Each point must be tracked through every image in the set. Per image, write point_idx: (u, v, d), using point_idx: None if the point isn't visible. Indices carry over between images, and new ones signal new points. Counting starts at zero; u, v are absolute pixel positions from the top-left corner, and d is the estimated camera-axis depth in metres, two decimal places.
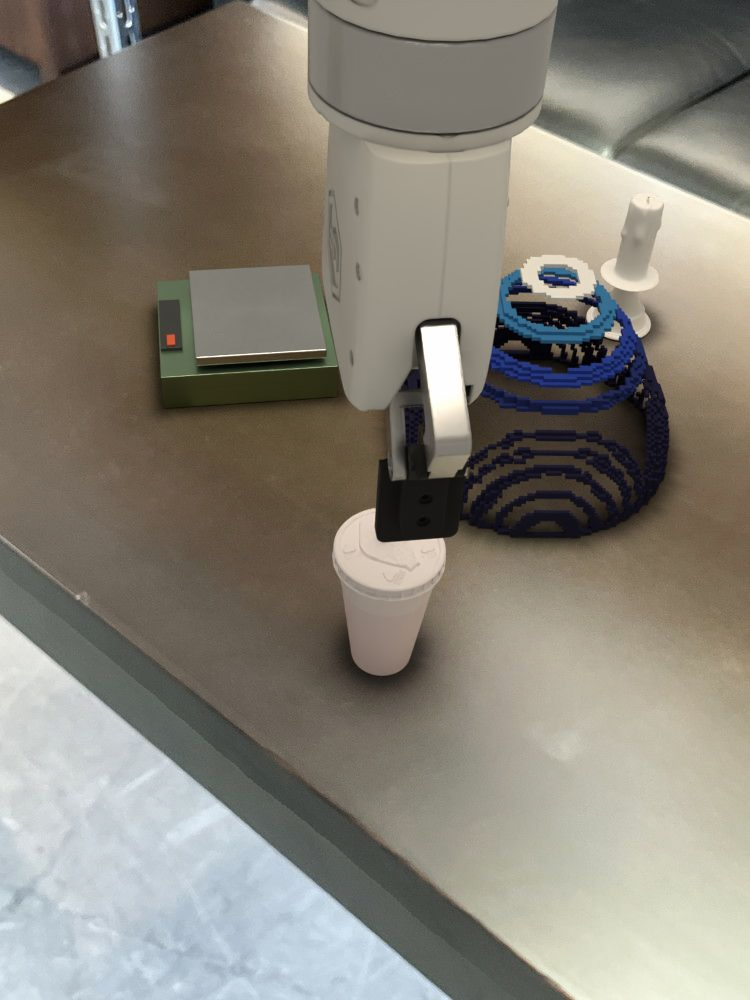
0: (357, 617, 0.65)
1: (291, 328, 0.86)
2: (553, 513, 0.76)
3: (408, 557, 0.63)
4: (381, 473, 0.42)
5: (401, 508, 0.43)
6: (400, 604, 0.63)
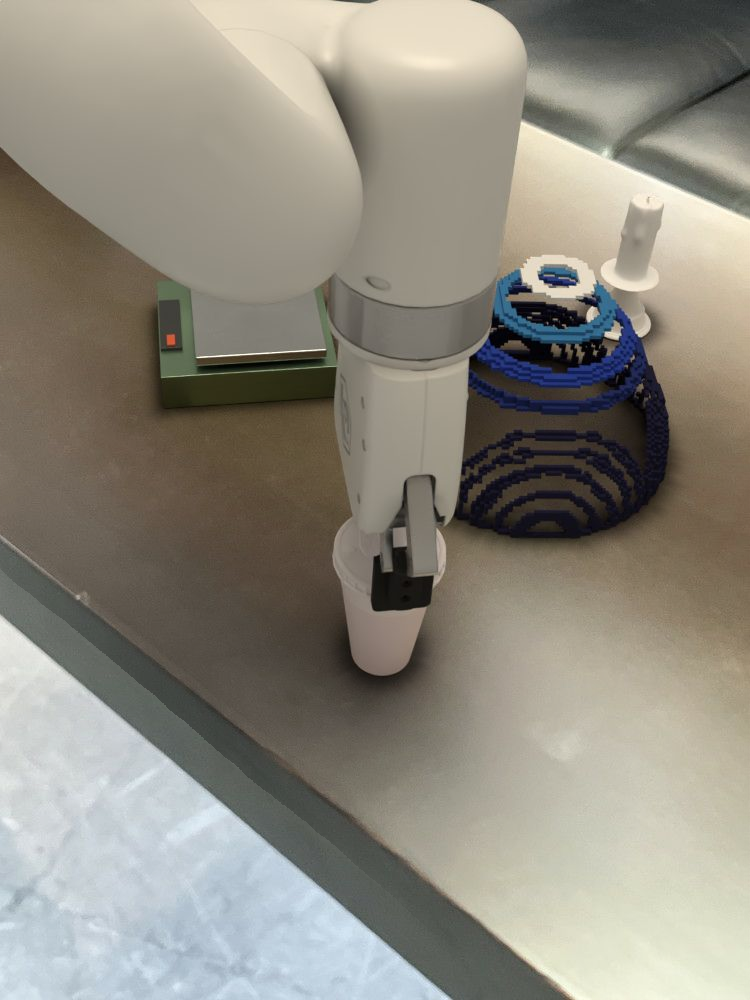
0: (358, 617, 0.65)
1: (291, 328, 0.86)
2: (553, 513, 0.76)
3: None
4: (375, 566, 0.59)
5: (389, 589, 0.60)
6: None
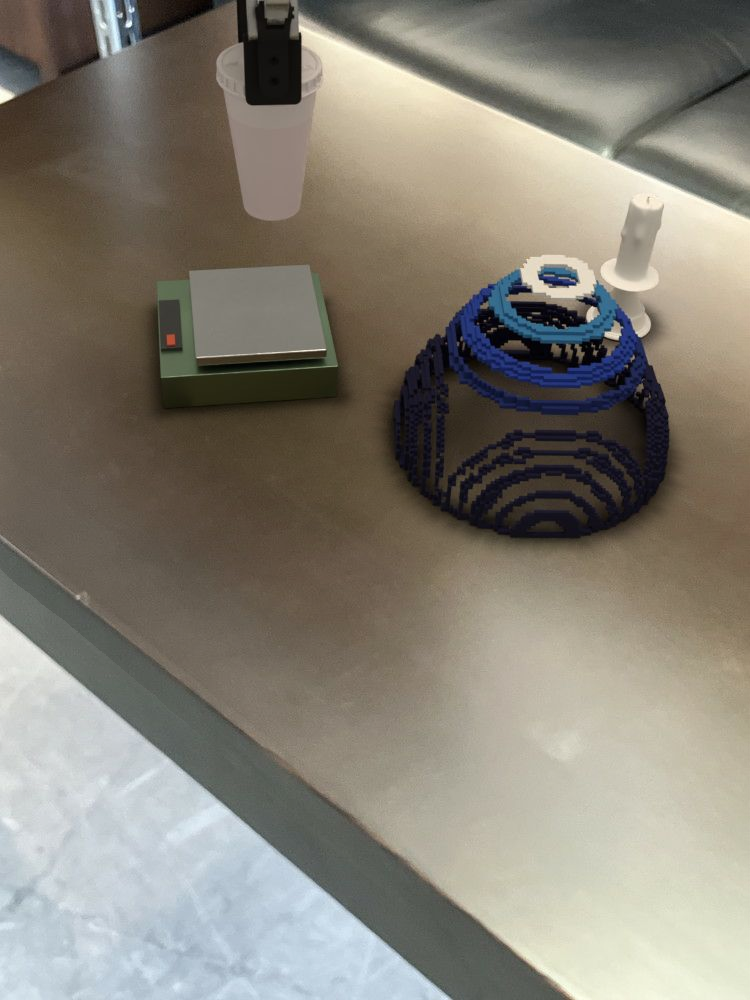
0: (241, 137, 0.69)
1: (291, 328, 0.86)
2: (553, 513, 0.76)
3: None
4: (244, 41, 0.63)
5: (259, 70, 0.64)
6: (278, 112, 0.67)
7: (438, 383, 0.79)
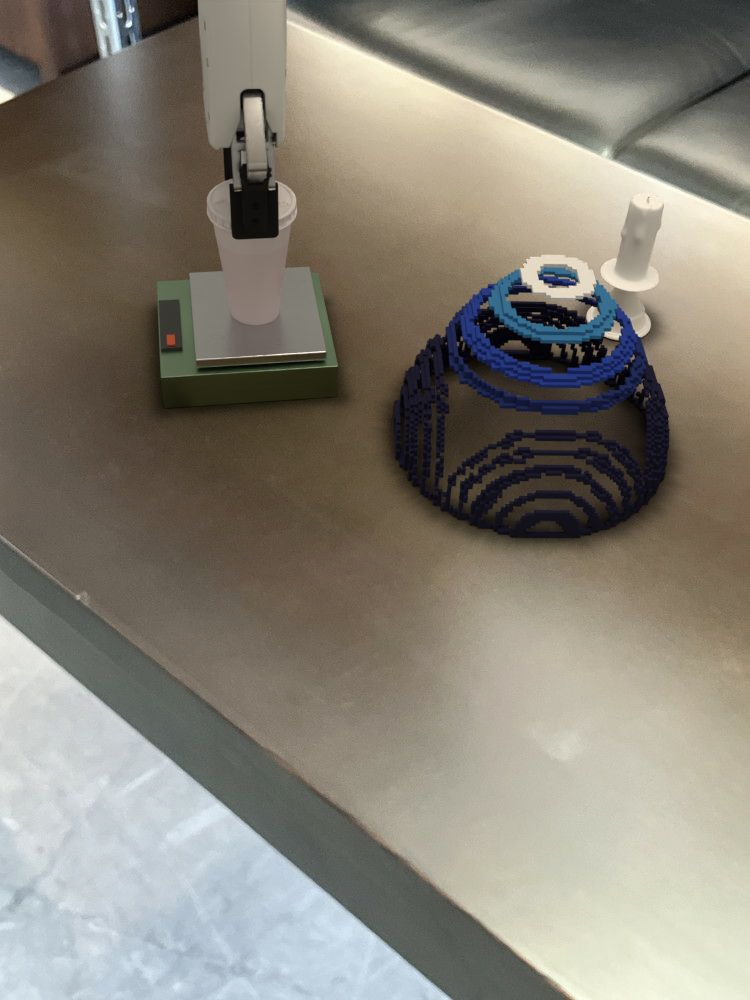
0: (228, 260, 0.82)
1: (291, 330, 0.86)
2: (553, 513, 0.76)
3: None
4: (230, 190, 0.76)
5: (243, 213, 0.77)
6: (259, 242, 0.80)
7: (438, 383, 0.79)
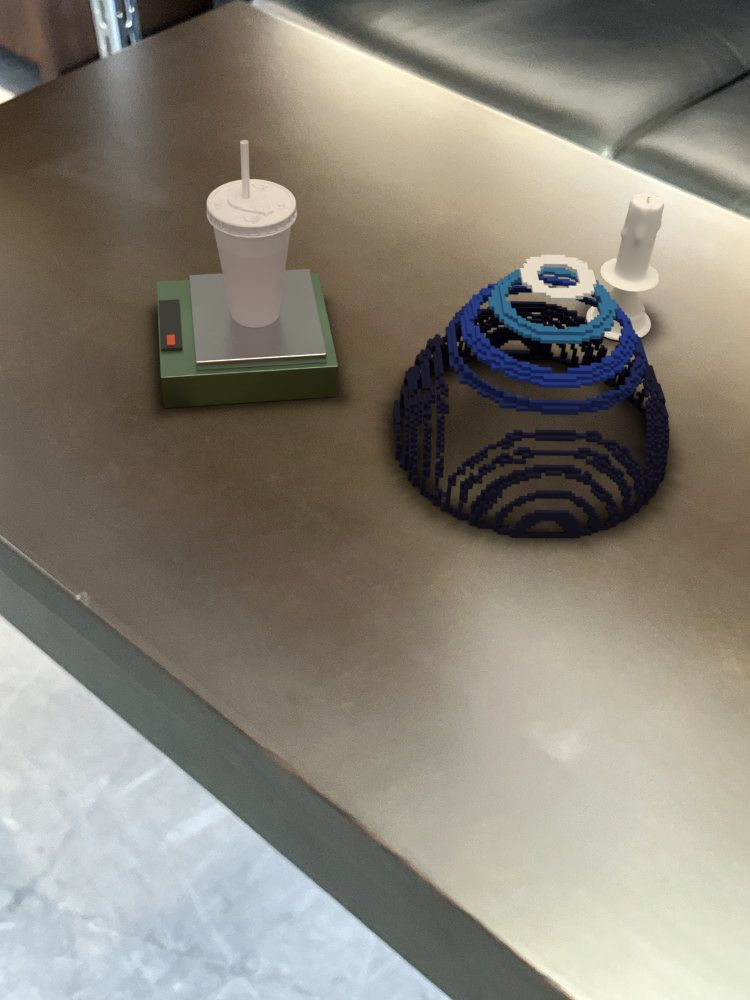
0: (228, 263, 0.82)
1: (291, 332, 0.86)
2: (553, 513, 0.76)
3: (264, 207, 0.80)
4: None
5: None
6: (259, 245, 0.80)
7: (438, 383, 0.79)
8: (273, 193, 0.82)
